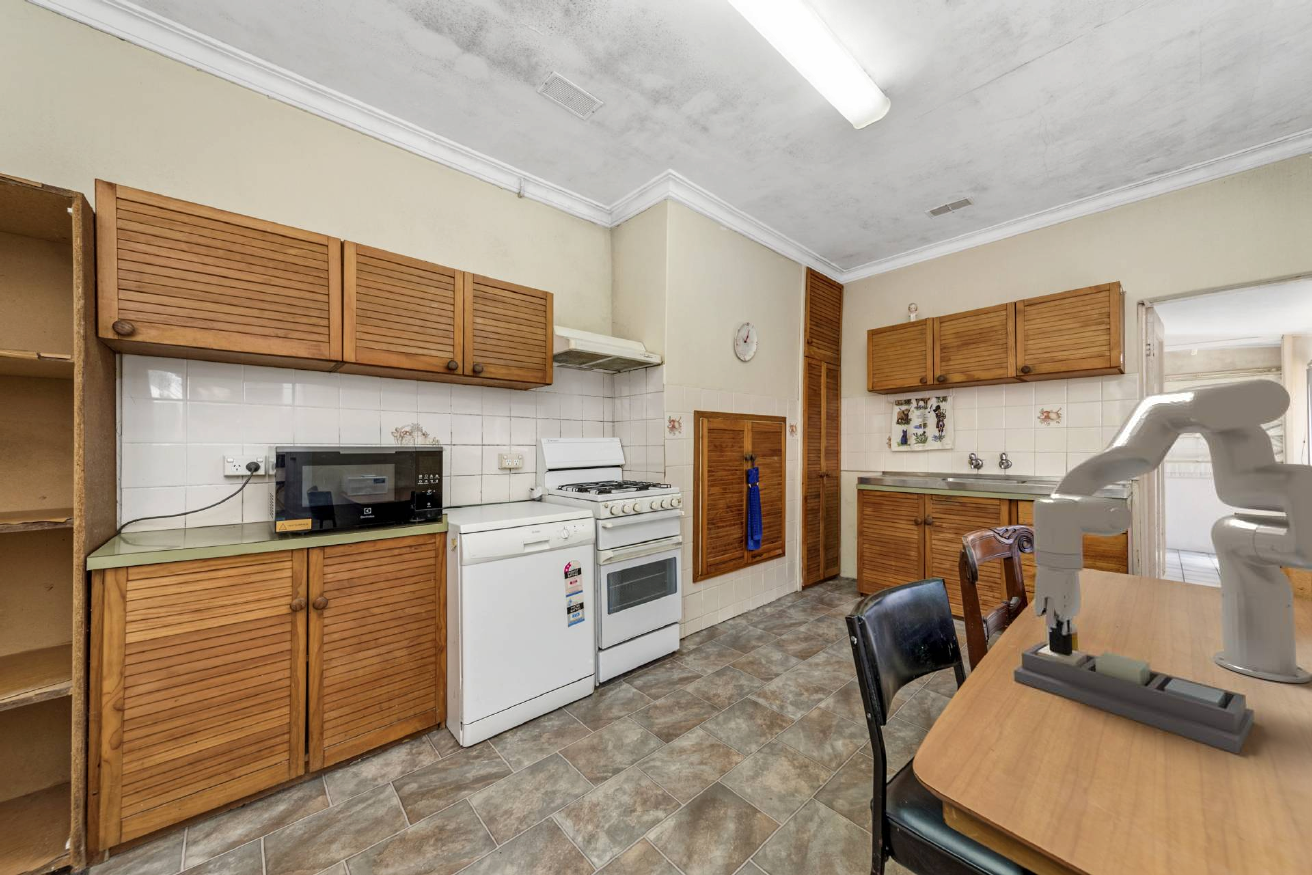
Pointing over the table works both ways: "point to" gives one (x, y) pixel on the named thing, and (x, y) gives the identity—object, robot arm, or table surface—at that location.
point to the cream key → (1064, 657)
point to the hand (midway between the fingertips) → (1060, 652)
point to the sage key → (1123, 668)
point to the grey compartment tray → (1142, 700)
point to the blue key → (1196, 692)
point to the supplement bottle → (1074, 637)
